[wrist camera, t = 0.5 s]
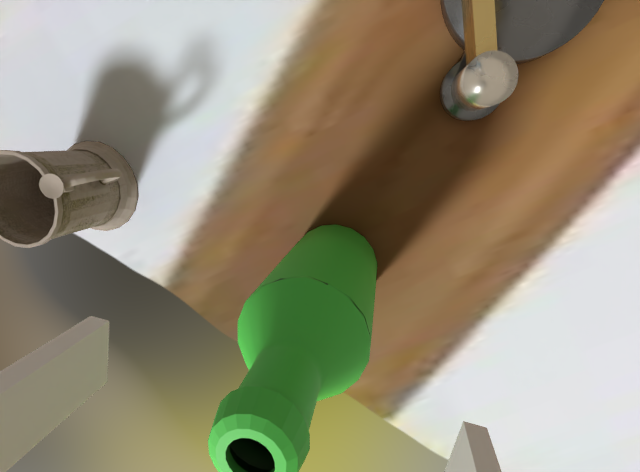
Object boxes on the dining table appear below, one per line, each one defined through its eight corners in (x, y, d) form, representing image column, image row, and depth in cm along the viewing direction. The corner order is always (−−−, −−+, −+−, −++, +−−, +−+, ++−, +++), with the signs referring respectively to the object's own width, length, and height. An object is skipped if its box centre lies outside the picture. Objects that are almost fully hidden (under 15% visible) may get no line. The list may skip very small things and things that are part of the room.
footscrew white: (497, 106, 31) (519, 100, 26) (452, 115, 32) (465, 110, 27) (487, -62, 29) (509, -107, 23) (438, -48, 29) (449, -89, 24)
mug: (78, 237, 44) (-32, 272, 32) (45, 154, 42) (-85, 160, 30) (186, 210, 40) (106, 239, 29) (155, 118, 38) (57, 110, 27)
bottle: (283, 233, 39) (119, 381, 15) (364, 212, 37) (320, 344, 13) (308, 310, 41) (195, 550, 17) (386, 293, 39) (384, 541, 15)
